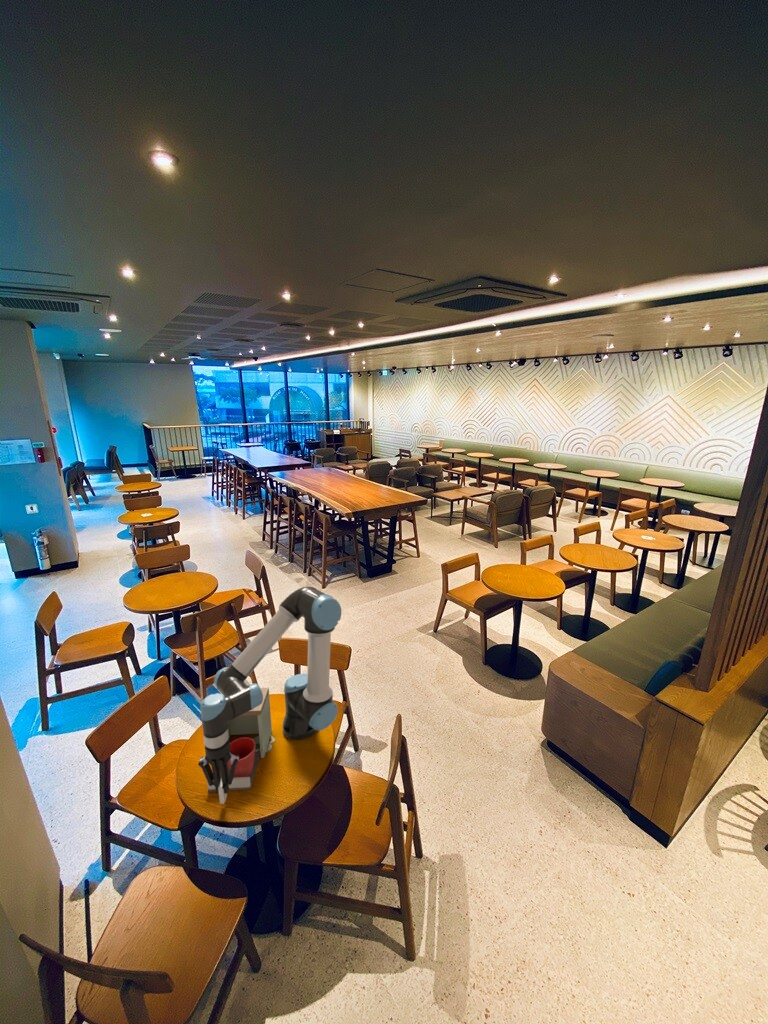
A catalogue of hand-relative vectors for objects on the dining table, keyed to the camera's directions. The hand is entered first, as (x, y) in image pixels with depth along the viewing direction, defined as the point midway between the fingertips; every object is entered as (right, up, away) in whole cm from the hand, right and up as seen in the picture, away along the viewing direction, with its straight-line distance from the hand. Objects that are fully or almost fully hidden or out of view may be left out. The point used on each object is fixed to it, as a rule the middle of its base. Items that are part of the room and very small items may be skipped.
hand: (223, 799), depth 134 cm
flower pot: (+2, +1, +13) cm, 13 cm away
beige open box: (-2, +3, +26) cm, 26 cm away
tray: (-1, 0, +13) cm, 13 cm away
